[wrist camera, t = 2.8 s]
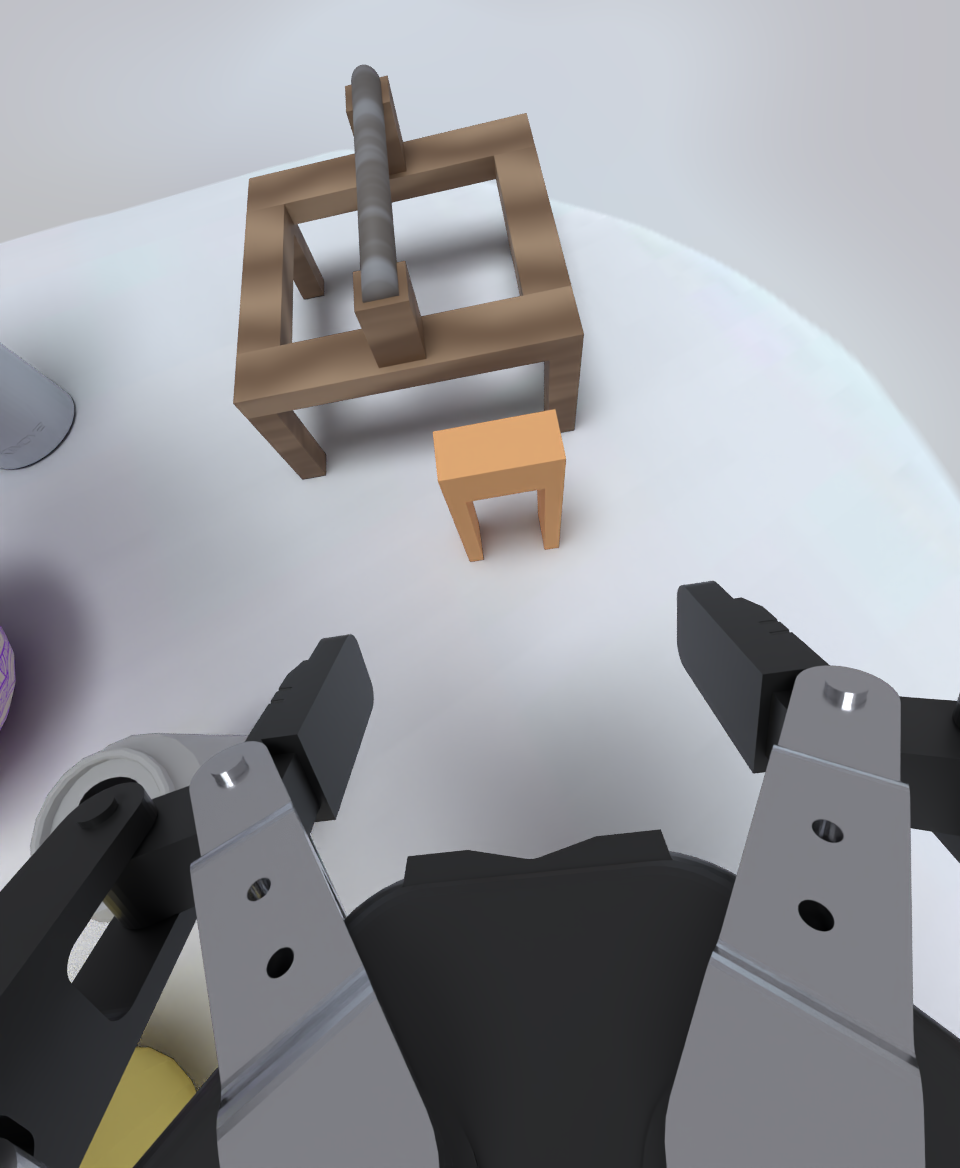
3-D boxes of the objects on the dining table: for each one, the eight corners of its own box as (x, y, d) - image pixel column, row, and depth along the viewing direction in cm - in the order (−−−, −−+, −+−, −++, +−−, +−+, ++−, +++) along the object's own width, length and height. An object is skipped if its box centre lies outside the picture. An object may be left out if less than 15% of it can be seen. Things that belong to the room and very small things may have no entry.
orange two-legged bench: (558, 547, 33) (566, 458, 23) (470, 561, 34) (437, 481, 23) (551, 510, 34) (555, 409, 24) (465, 524, 35) (432, 431, 24)
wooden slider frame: (574, 430, 36) (592, 250, 23) (302, 479, 38) (174, 338, 25) (529, 235, 43) (524, 15, 30) (303, 284, 45) (206, 95, 32)
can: (311, 724, 31) (180, 713, 20) (323, 848, 29) (181, 915, 17) (205, 751, 32) (19, 754, 20) (208, 875, 29) (-4, 959, 18)
